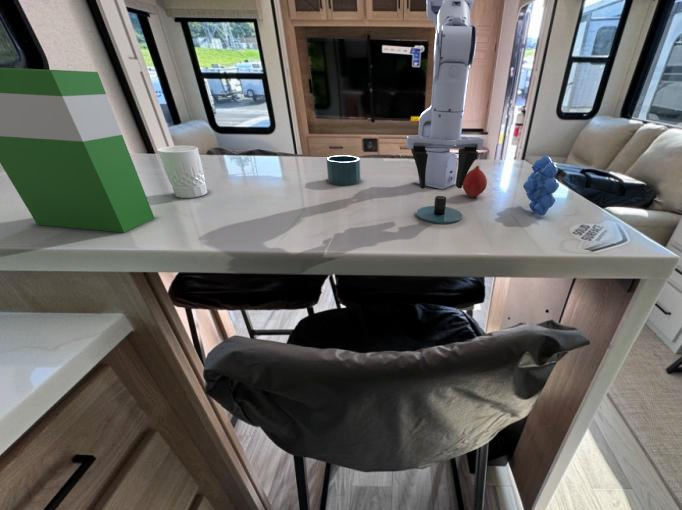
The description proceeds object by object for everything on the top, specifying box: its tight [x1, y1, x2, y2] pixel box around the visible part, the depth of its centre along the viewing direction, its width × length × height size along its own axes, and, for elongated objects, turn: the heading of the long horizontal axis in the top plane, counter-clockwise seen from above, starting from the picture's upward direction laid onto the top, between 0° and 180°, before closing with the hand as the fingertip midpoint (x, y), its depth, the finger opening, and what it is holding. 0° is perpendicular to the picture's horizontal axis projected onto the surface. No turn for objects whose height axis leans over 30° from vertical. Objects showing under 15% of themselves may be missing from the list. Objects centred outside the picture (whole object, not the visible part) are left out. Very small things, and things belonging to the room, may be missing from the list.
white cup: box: [156, 145, 208, 199], centre depth 77 cm, size 8×8×10 cm
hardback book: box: [0, 67, 155, 233], centre depth 57 cm, size 18×7×24 cm, turn 82°
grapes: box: [522, 155, 560, 217], centre depth 74 cm, size 12×7×12 cm, turn 4°
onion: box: [462, 165, 488, 198], centre depth 82 cm, size 6×6×8 cm
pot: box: [326, 155, 361, 186], centre depth 92 cm, size 9×9×6 cm
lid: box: [415, 195, 463, 225], centre depth 71 cm, size 10×10×4 cm
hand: (440, 187), depth 68 cm, fingers open, 7 cm apart
